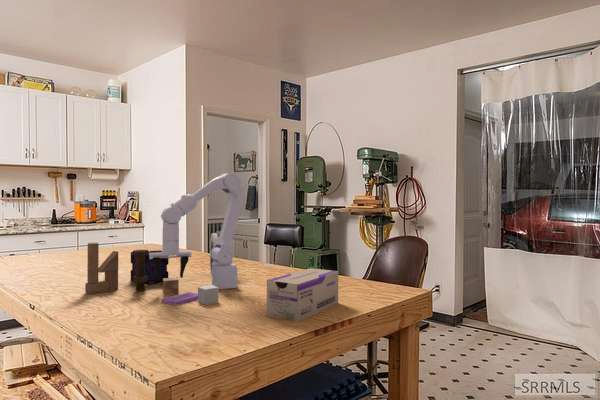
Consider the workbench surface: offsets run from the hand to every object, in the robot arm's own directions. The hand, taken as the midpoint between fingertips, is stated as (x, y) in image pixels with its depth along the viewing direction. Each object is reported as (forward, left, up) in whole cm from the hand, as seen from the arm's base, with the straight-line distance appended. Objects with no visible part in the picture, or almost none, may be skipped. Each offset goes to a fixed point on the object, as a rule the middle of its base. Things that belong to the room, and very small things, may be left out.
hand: (170, 277), depth 151 cm
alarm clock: (-24, -27, -6) cm, 37 cm away
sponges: (-3, +13, -6) cm, 15 cm away
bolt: (+10, -7, -6) cm, 13 cm away
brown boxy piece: (0, 0, -6) cm, 6 cm away
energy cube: (+6, -24, -6) cm, 25 cm away
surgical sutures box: (-36, +39, -6) cm, 54 cm away
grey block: (-10, +19, -6) cm, 22 cm away
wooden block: (+23, -12, -6) cm, 26 cm away
